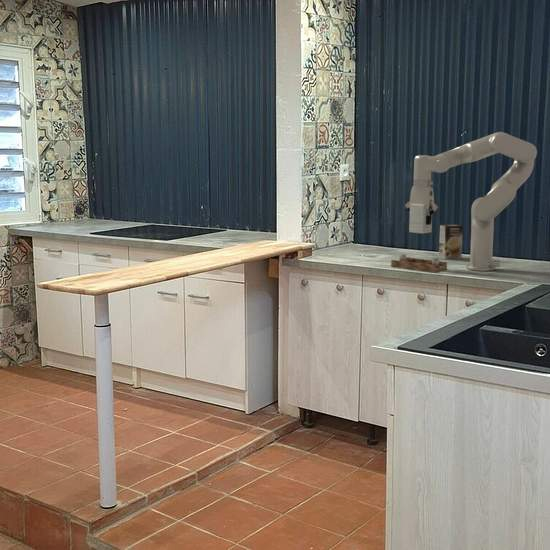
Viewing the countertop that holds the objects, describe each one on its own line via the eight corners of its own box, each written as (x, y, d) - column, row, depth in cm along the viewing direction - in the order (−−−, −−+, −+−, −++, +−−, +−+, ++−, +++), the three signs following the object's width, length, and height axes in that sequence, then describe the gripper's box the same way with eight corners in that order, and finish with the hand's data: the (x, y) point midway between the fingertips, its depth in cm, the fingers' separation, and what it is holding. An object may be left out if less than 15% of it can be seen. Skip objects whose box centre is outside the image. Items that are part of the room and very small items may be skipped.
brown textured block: (446, 269, 349) (447, 257, 348) (433, 272, 341) (434, 260, 340) (404, 263, 364) (404, 252, 363) (391, 267, 356) (391, 255, 355)
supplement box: (431, 232, 350) (433, 203, 348) (422, 233, 345) (423, 205, 343) (418, 230, 356) (419, 202, 353) (408, 232, 350) (409, 203, 348)
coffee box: (444, 259, 374) (445, 226, 371) (438, 257, 380) (439, 224, 377) (462, 258, 377) (463, 225, 374) (455, 256, 383) (456, 223, 380)
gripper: (443, 184, 343) (442, 224, 346) (410, 182, 355) (408, 221, 358) (434, 185, 338) (432, 226, 341) (400, 183, 350) (399, 222, 353)
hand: (420, 223), depth 350 cm, fingers closed on supplement box, 7 cm apart
